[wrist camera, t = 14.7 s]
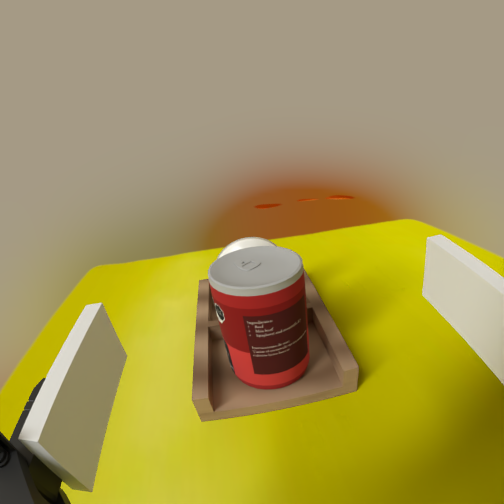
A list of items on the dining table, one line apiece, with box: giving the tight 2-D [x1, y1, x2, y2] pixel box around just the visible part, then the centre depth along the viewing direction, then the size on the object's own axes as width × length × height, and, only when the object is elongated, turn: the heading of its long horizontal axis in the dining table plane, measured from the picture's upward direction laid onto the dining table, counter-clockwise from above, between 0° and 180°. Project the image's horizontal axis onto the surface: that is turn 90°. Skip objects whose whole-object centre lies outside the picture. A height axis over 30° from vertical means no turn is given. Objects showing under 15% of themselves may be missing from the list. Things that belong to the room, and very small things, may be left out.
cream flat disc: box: [217, 237, 278, 259], centre depth 39 cm, size 1×9×9 cm, turn 97°
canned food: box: [208, 246, 310, 389], centre depth 28 cm, size 8×8×11 cm
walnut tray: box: [192, 270, 359, 421], centre depth 36 cm, size 22×14×3 cm, turn 6°
